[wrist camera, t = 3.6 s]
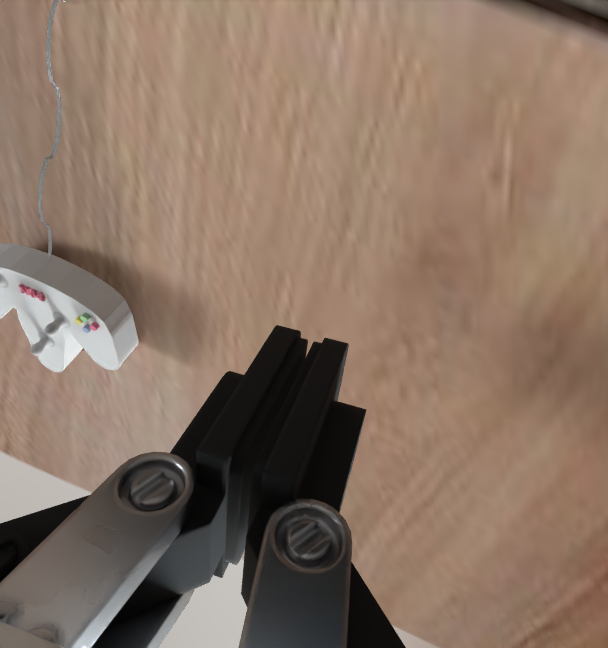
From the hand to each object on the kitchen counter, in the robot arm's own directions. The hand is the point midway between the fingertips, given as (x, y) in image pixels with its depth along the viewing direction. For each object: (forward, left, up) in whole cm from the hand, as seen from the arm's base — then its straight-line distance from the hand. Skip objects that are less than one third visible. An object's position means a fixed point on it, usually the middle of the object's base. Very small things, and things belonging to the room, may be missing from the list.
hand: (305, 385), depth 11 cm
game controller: (-1, -9, -4) cm, 10 cm away
